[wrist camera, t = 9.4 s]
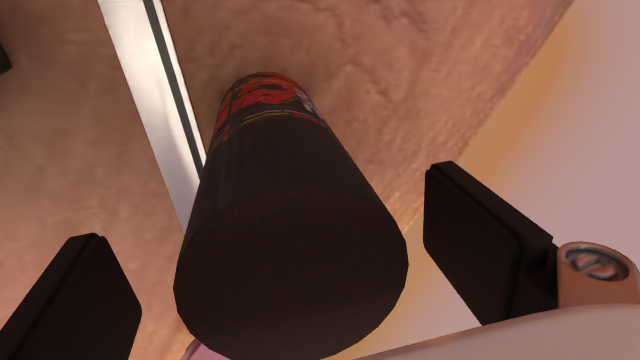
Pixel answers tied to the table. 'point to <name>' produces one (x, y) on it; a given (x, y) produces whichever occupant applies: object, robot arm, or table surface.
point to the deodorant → (284, 234)
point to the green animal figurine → (3, 62)
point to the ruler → (159, 95)
